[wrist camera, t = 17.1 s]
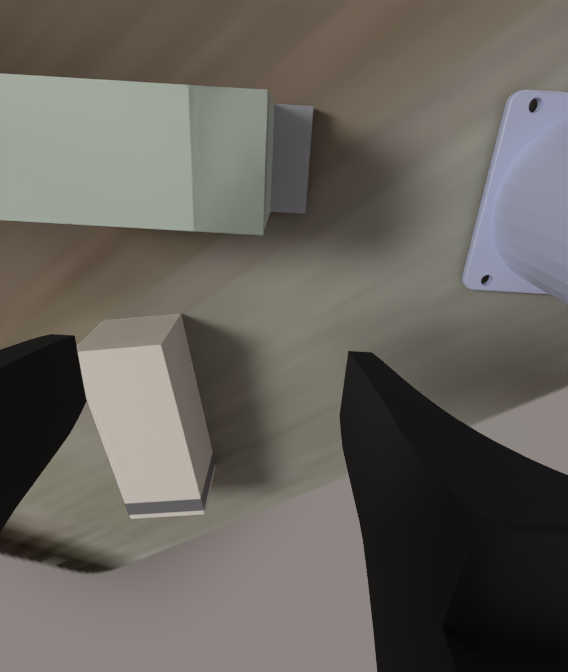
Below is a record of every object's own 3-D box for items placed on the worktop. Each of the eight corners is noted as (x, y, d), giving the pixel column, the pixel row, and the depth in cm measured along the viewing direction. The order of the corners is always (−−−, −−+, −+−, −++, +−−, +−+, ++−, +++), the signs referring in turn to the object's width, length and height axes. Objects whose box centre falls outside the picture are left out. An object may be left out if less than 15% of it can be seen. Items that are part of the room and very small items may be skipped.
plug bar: (181, 313, 20) (161, 344, 17) (216, 466, 25) (205, 514, 21) (103, 319, 21) (68, 352, 17) (150, 470, 25) (130, 519, 22)
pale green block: (312, 107, 16) (321, 93, 11) (305, 210, 18) (310, 238, 13) (-14, 88, 16) (-151, 64, 11) (10, 193, 18) (-100, 214, 13)
